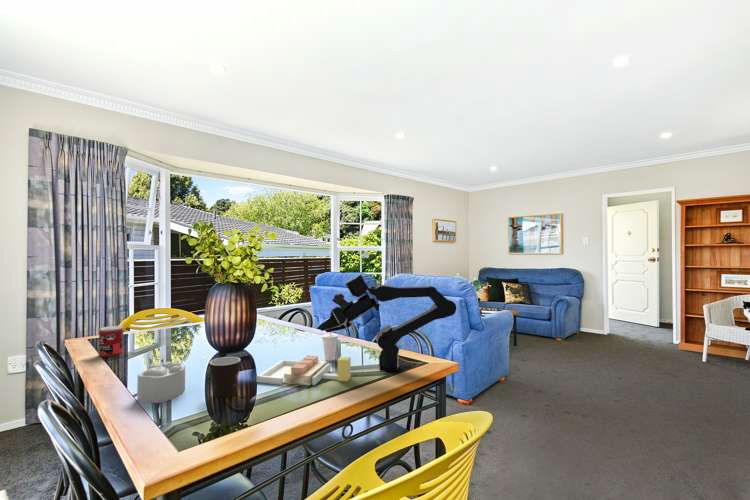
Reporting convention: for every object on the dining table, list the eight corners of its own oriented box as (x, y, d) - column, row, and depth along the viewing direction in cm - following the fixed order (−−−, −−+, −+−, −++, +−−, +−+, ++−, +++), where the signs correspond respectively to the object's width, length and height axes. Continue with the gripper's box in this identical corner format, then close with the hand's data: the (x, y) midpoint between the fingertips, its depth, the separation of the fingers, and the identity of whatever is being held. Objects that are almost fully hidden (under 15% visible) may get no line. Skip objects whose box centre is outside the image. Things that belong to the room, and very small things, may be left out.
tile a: (318, 361, 132) (318, 356, 132) (313, 365, 128) (313, 359, 128) (307, 360, 133) (307, 355, 133) (303, 364, 129) (303, 358, 129)
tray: (305, 366, 136) (305, 361, 136) (281, 384, 117) (281, 378, 117) (282, 364, 138) (283, 359, 138) (256, 382, 119) (256, 376, 119)
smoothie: (339, 357, 148) (339, 323, 148) (336, 362, 141) (336, 326, 142) (323, 357, 148) (324, 322, 149) (319, 361, 142) (320, 325, 142)
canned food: (94, 356, 147) (94, 328, 147) (113, 350, 155) (113, 325, 155) (108, 357, 145) (108, 330, 145) (127, 352, 153) (127, 326, 153)
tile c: (307, 370, 122) (307, 364, 122) (302, 374, 119) (302, 368, 119) (296, 369, 123) (296, 363, 123) (291, 373, 119) (291, 367, 119)
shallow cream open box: (326, 369, 133) (326, 361, 133) (309, 385, 117) (309, 376, 117) (303, 367, 134) (303, 359, 134) (283, 383, 119) (284, 373, 119)
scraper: (354, 372, 130) (355, 352, 130) (342, 387, 115) (342, 365, 115) (327, 370, 132) (328, 351, 132) (312, 385, 117) (312, 363, 117)
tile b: (312, 365, 127) (312, 360, 127) (308, 369, 123) (308, 363, 123) (302, 365, 128) (302, 359, 128) (297, 368, 124) (297, 362, 124)
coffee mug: (229, 401, 104) (229, 366, 104) (202, 398, 106) (203, 364, 106) (251, 386, 116) (251, 355, 116) (226, 384, 117) (227, 353, 117)
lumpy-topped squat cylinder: (131, 401, 104) (131, 370, 104) (165, 384, 117) (165, 357, 117) (163, 403, 102) (163, 373, 102) (194, 387, 115) (194, 359, 115)
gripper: (351, 293, 145) (318, 314, 144) (344, 284, 127) (306, 308, 126) (366, 317, 142) (332, 339, 140) (361, 311, 124) (321, 336, 123)
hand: (323, 330), depth 132 cm, fingers open, 9 cm apart
